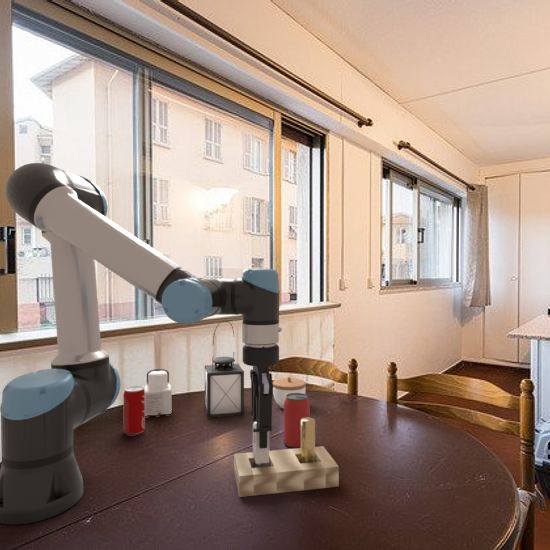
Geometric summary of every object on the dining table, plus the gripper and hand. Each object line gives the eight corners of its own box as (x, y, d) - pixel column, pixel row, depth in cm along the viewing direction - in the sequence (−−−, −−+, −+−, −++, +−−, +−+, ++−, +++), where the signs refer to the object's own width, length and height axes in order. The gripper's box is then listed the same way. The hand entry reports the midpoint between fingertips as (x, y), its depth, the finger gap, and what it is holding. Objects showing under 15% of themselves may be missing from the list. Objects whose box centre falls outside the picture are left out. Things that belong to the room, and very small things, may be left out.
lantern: (238, 403, 136) (238, 318, 136) (244, 415, 125) (244, 322, 125) (204, 406, 133) (204, 319, 133) (207, 418, 122) (206, 323, 122)
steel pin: (254, 485, 83) (254, 425, 83) (252, 477, 86) (252, 420, 86) (269, 483, 84) (269, 424, 84) (266, 476, 87) (267, 419, 87)
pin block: (239, 497, 79) (239, 476, 79) (233, 472, 89) (234, 453, 89) (338, 486, 83) (338, 466, 83) (323, 464, 93) (323, 446, 93)
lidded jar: (311, 404, 135) (311, 375, 135) (295, 414, 126) (295, 383, 126) (283, 399, 141) (283, 371, 141) (266, 407, 132) (266, 378, 132)
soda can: (145, 434, 110) (145, 389, 110) (123, 437, 108) (123, 391, 108) (144, 427, 115) (144, 383, 115) (123, 429, 113) (123, 385, 113)
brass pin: (302, 481, 85) (302, 422, 85) (299, 474, 88) (299, 417, 88) (316, 479, 86) (316, 421, 86) (312, 472, 89) (312, 416, 89)
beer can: (308, 450, 100) (308, 400, 100) (281, 447, 101) (281, 398, 101) (311, 439, 106) (311, 393, 106) (286, 437, 108) (286, 391, 108)
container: (144, 409, 130) (144, 368, 130) (170, 407, 132) (170, 366, 132) (144, 418, 122) (144, 374, 122) (171, 415, 125) (171, 372, 125)
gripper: (287, 350, 78) (287, 475, 78) (271, 337, 93) (271, 441, 93) (247, 351, 76) (247, 479, 76) (238, 338, 92) (238, 444, 92)
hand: (260, 458), depth 85 cm, fingers closed on steel pin, 3 cm apart
